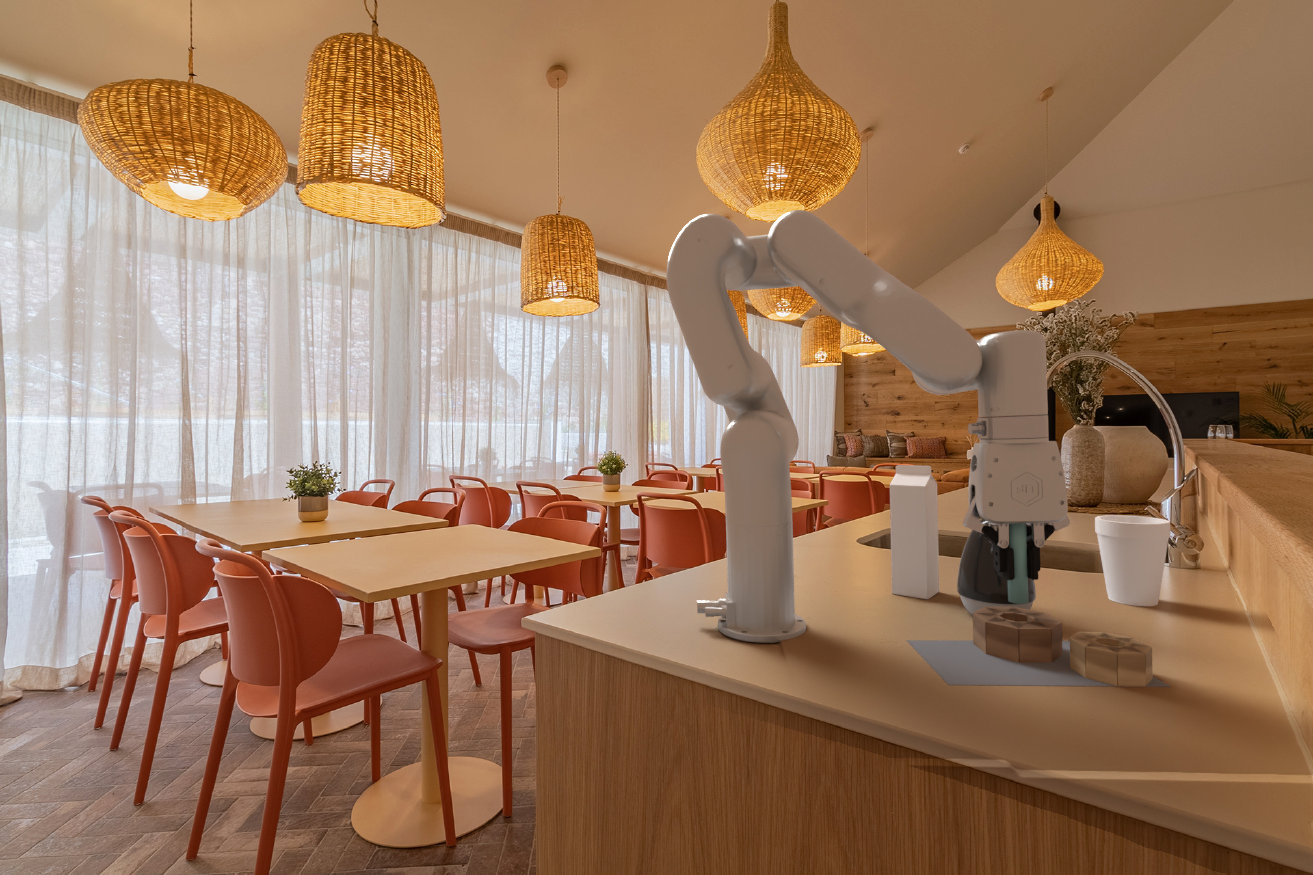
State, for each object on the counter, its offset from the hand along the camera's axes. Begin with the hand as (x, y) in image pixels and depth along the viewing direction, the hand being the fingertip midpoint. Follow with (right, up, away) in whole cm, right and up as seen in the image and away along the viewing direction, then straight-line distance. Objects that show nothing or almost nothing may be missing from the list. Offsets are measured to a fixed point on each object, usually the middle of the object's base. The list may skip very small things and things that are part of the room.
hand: (1017, 576), depth 77 cm
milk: (-1, -10, +28) cm, 30 cm away
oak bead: (+6, -9, -8) cm, 13 cm away
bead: (0, -9, 0) cm, 9 cm away
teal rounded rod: (0, -3, 0) cm, 3 cm away
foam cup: (+31, -9, +21) cm, 38 cm away
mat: (-1, -10, -4) cm, 10 cm away
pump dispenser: (+5, -10, +14) cm, 18 cm away
